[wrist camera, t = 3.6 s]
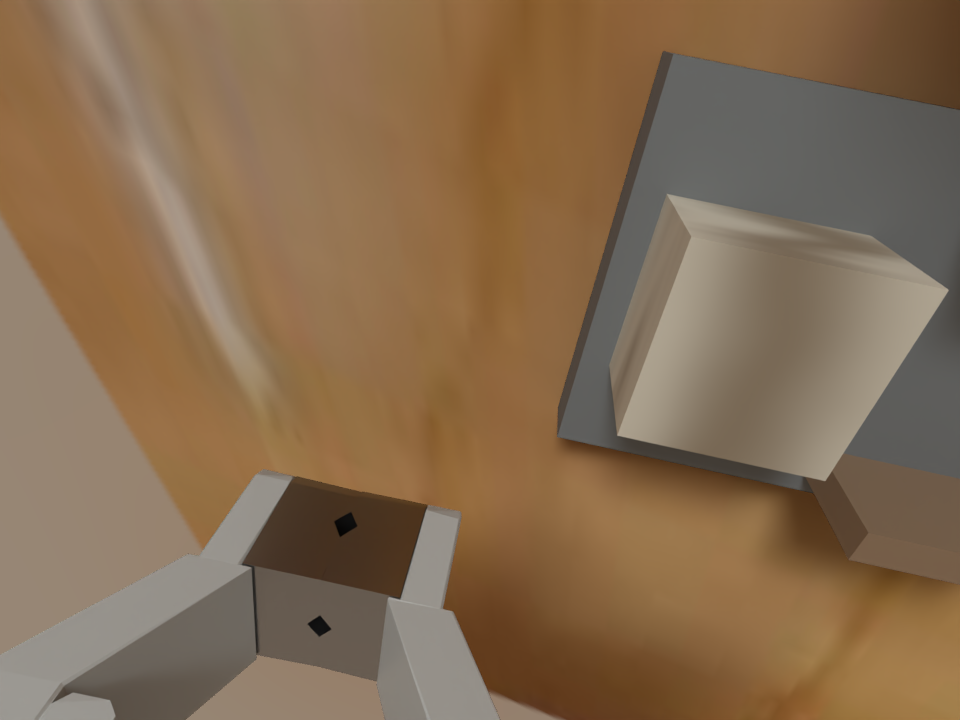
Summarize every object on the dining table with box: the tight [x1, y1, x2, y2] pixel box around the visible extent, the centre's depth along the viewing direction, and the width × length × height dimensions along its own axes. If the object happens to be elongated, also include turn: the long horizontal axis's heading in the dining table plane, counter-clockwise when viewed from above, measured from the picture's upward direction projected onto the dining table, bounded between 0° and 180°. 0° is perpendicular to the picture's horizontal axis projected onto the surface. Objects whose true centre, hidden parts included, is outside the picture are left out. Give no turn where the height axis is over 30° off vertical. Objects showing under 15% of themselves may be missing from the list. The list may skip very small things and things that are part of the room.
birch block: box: [609, 194, 949, 481], centre depth 17 cm, size 6×6×4 cm
